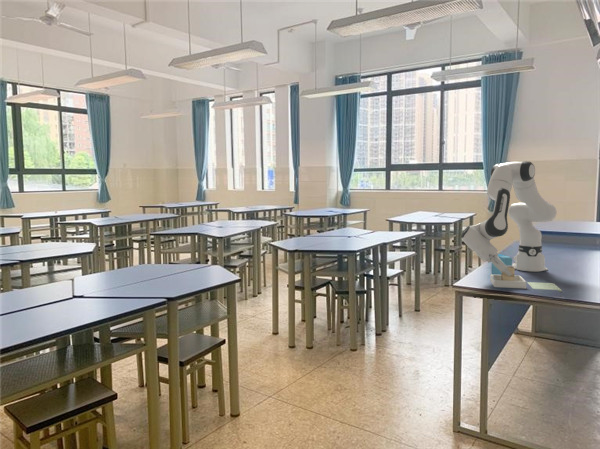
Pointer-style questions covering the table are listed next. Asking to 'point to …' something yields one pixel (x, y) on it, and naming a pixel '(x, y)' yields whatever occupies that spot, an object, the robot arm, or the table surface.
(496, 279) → the bin
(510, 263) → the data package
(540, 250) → the robot arm
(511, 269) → the part box
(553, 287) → the pad
